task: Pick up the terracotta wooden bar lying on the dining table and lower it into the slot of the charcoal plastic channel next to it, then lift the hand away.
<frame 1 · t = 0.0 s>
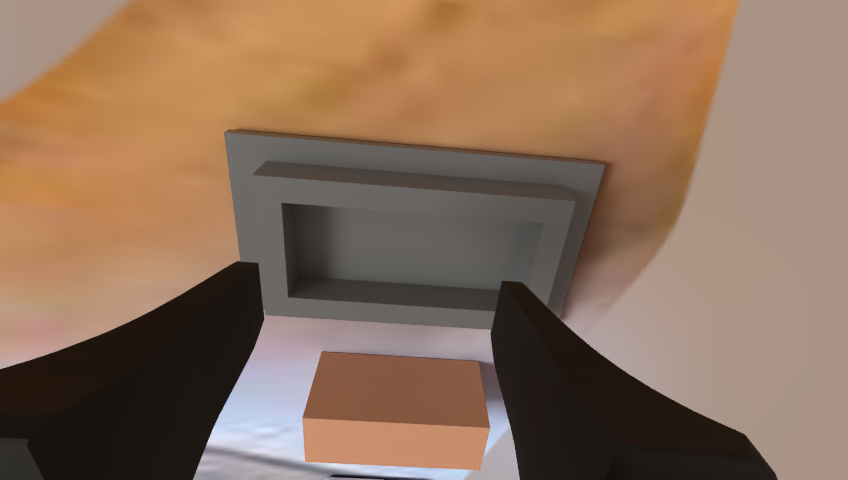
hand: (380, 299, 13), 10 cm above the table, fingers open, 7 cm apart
terracotta bar: (399, 377, 28), on the table
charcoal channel: (411, 237, 23), on the table
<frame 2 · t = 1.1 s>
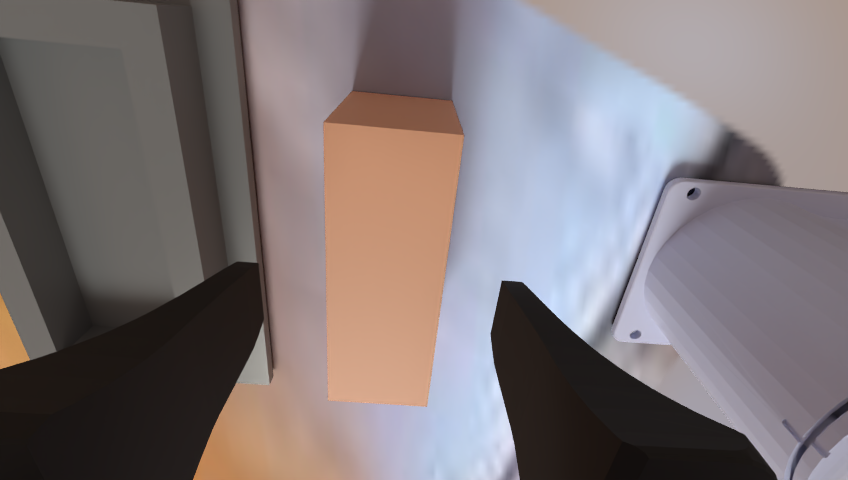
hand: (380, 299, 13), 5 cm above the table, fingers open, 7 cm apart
terracotta bar: (394, 221, 18), on the table
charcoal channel: (130, 201, 17), on the table
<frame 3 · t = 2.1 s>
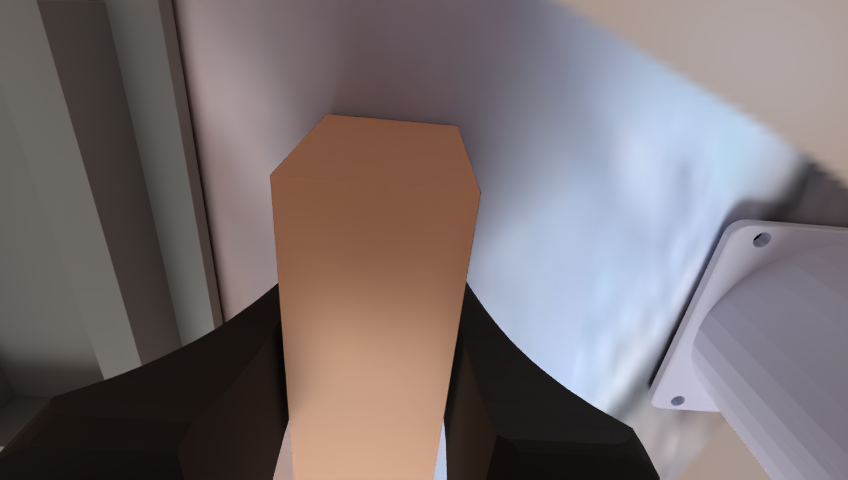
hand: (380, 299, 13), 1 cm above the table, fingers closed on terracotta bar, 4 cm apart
terracotta bar: (383, 273, 14), on the table, touching gripper
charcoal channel: (51, 250, 13), on the table
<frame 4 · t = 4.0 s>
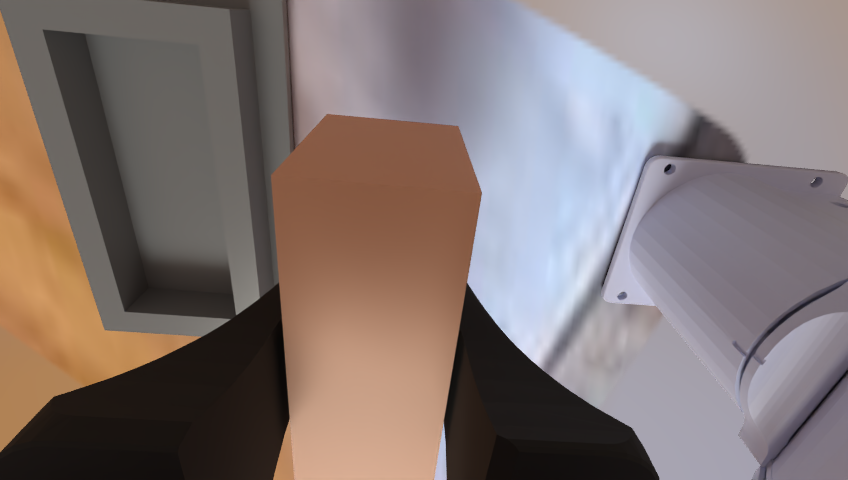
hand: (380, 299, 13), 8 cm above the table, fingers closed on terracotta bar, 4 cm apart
terracotta bar: (384, 273, 14), point 7 cm above the table, touching gripper
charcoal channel: (186, 177, 20), on the table
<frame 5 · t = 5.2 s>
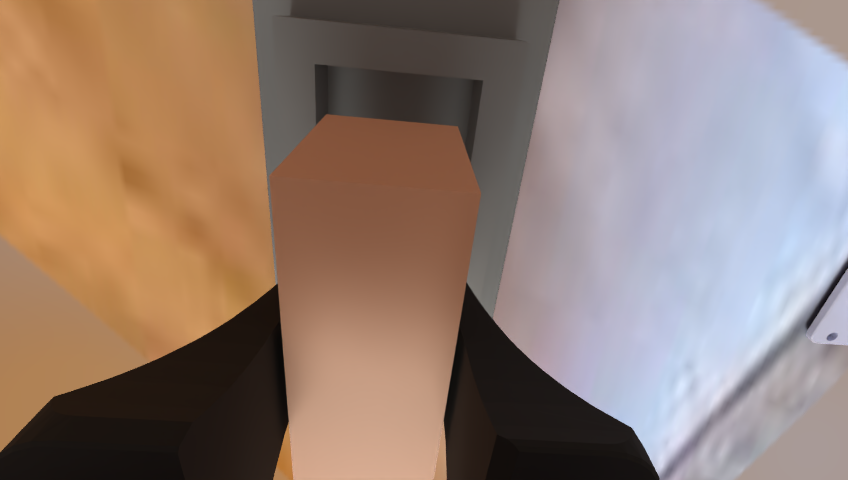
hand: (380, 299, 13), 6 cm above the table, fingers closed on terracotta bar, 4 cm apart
terracotta bar: (383, 274, 14), point 5 cm above the table, touching gripper
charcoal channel: (392, 214, 18), on the table
when the fingers open (3 cm above the table, at t = 6.0 s): terracotta bar drops 1 cm, resting on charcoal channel.
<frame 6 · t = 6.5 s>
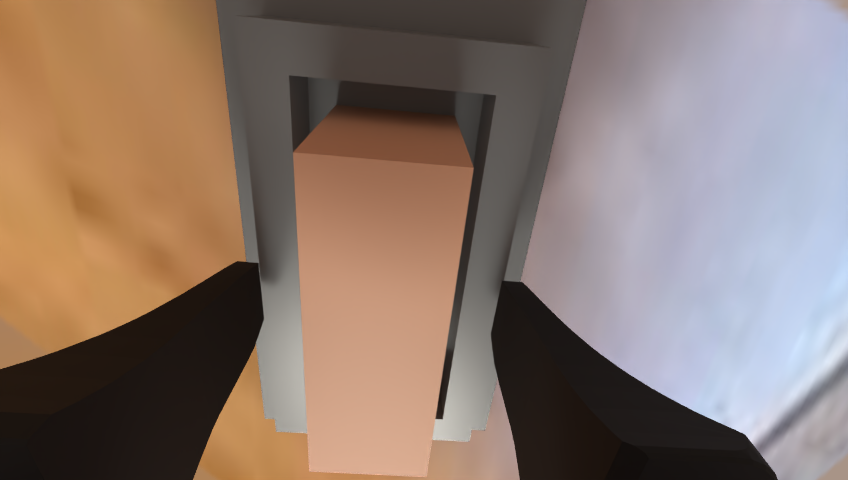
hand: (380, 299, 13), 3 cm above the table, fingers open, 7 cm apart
terracotta bar: (387, 253, 15), point 1 cm above the table, touching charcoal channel
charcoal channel: (387, 245, 16), on the table
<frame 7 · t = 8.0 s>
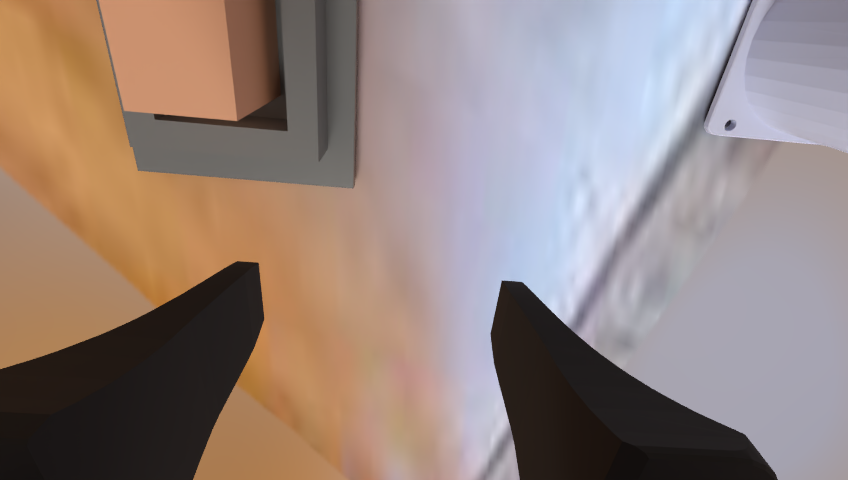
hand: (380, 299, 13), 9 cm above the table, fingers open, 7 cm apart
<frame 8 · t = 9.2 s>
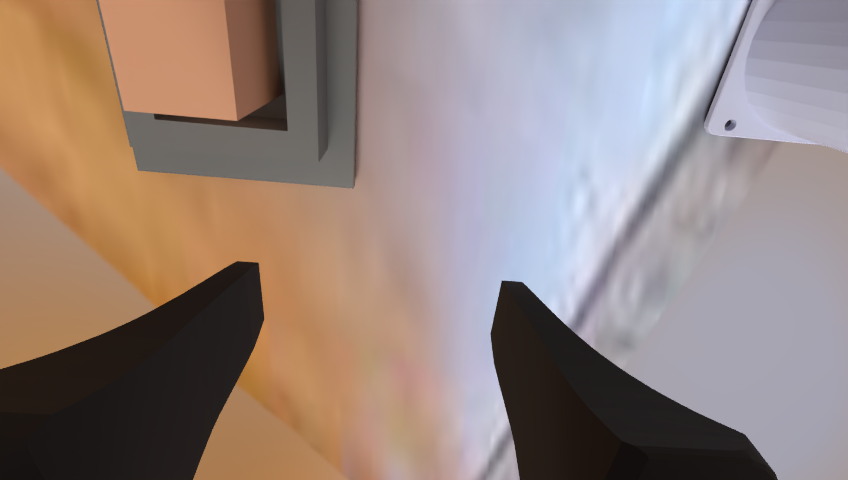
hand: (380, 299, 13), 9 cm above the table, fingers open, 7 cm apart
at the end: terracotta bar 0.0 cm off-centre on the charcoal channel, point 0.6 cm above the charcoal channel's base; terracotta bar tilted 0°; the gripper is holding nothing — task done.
